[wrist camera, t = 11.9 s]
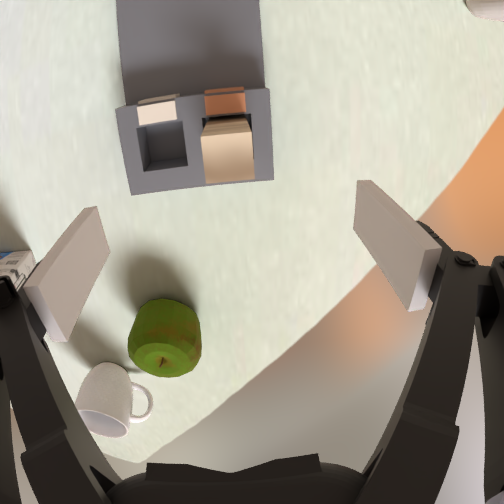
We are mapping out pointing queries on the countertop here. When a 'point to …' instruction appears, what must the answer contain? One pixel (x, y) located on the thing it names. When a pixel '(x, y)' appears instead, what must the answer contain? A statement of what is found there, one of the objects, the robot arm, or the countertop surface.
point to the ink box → (17, 266)
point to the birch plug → (227, 149)
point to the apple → (165, 338)
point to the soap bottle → (487, 9)
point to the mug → (109, 401)
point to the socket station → (188, 87)
